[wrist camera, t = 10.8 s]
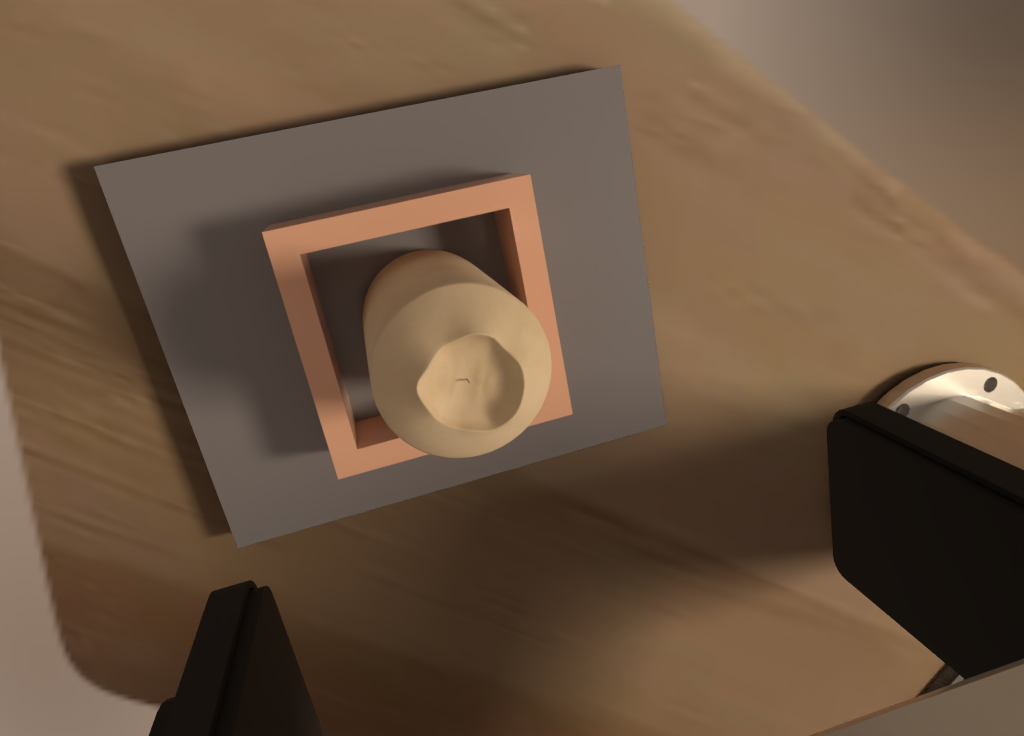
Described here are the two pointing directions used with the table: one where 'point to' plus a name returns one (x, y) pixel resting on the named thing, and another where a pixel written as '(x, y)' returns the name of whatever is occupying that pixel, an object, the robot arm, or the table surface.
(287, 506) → the candle stand
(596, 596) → the table surface
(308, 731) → the robot arm
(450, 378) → the candle
